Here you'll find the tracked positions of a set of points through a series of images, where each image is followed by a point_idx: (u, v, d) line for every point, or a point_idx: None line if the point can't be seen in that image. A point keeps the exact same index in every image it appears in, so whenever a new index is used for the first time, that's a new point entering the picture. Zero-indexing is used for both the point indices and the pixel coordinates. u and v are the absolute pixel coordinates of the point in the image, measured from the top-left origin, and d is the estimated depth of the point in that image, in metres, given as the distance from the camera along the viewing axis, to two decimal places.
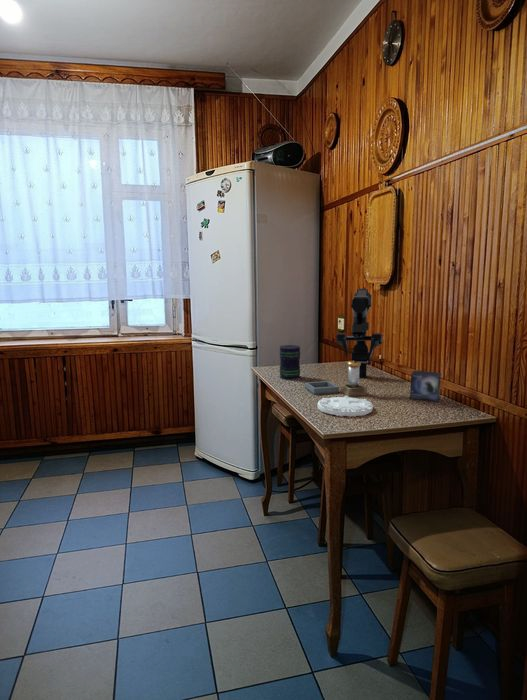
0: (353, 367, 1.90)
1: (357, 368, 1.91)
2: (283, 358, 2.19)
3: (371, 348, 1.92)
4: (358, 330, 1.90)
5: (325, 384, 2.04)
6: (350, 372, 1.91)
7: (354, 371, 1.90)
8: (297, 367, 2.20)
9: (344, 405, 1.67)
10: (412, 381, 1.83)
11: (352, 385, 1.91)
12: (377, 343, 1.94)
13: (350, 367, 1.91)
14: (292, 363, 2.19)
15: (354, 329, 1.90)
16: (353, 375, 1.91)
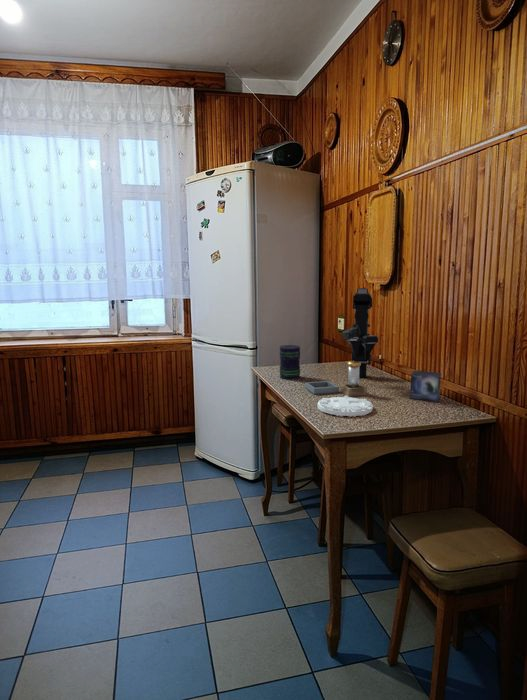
0: (353, 367, 1.90)
1: (357, 368, 1.91)
2: (283, 358, 2.19)
3: (365, 350, 2.00)
4: (346, 337, 2.01)
5: (325, 384, 2.04)
6: (350, 372, 1.91)
7: (354, 371, 1.90)
8: (297, 367, 2.20)
9: (344, 405, 1.67)
10: (412, 381, 1.83)
11: (352, 385, 1.91)
12: None
13: (350, 367, 1.91)
14: (292, 363, 2.19)
15: (343, 336, 2.03)
16: (353, 375, 1.91)
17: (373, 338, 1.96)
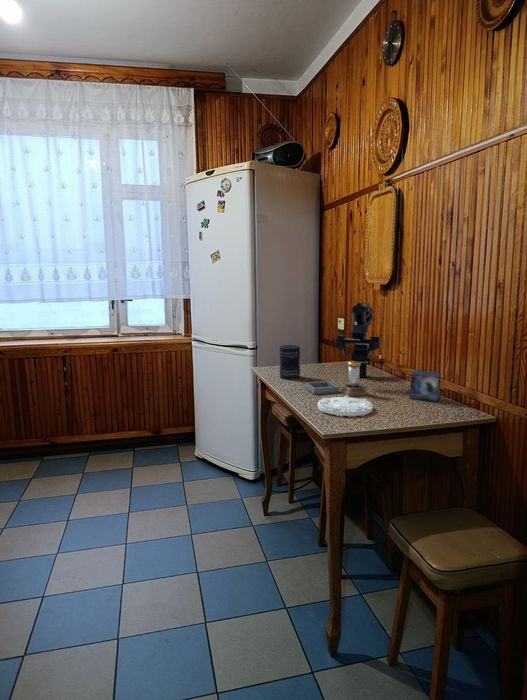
0: (353, 367, 1.90)
1: (357, 368, 1.91)
2: (283, 358, 2.19)
3: (369, 349, 2.00)
4: (357, 330, 1.99)
5: (325, 384, 2.04)
6: (350, 372, 1.91)
7: (354, 371, 1.90)
8: (297, 367, 2.20)
9: (344, 405, 1.67)
10: (412, 381, 1.83)
11: (352, 385, 1.91)
12: (375, 346, 2.01)
13: (350, 367, 1.91)
14: (292, 363, 2.19)
15: (354, 329, 1.99)
16: (353, 375, 1.91)
17: None
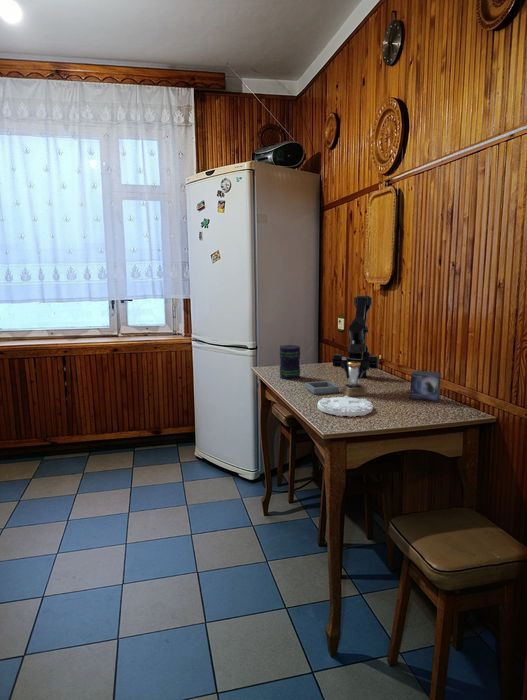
0: (353, 367, 1.90)
1: (357, 368, 1.90)
2: (283, 358, 2.19)
3: (361, 369, 1.92)
4: (355, 349, 1.90)
5: (325, 384, 2.04)
6: (350, 372, 1.91)
7: (354, 371, 1.90)
8: (297, 367, 2.20)
9: (344, 405, 1.67)
10: (412, 381, 1.83)
11: (353, 385, 1.91)
12: (367, 366, 1.94)
13: (350, 367, 1.91)
14: (292, 363, 2.19)
15: (351, 348, 1.91)
16: (353, 375, 1.91)
17: None
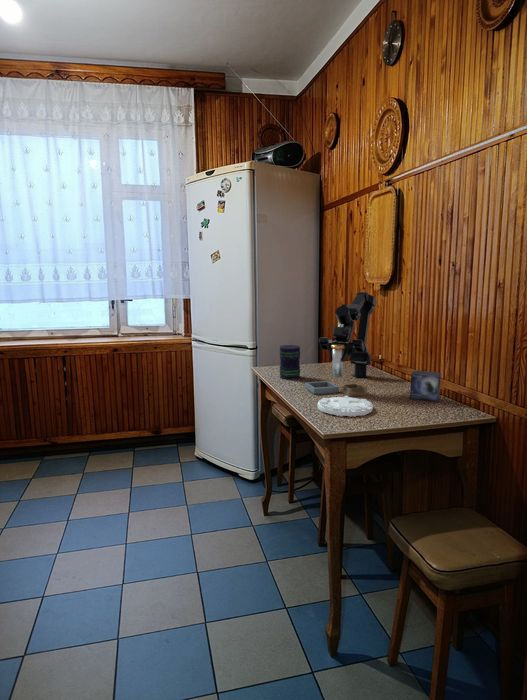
0: (336, 350, 1.91)
1: (340, 351, 1.91)
2: (283, 358, 2.19)
3: (345, 352, 1.92)
4: (338, 332, 1.91)
5: (325, 384, 2.04)
6: (333, 355, 1.92)
7: (337, 354, 1.91)
8: (297, 367, 2.20)
9: (344, 405, 1.67)
10: (412, 381, 1.83)
11: (335, 368, 1.92)
12: (352, 349, 1.93)
13: (333, 350, 1.92)
14: (292, 363, 2.19)
15: (334, 331, 1.92)
16: (336, 358, 1.91)
17: (363, 345, 1.93)
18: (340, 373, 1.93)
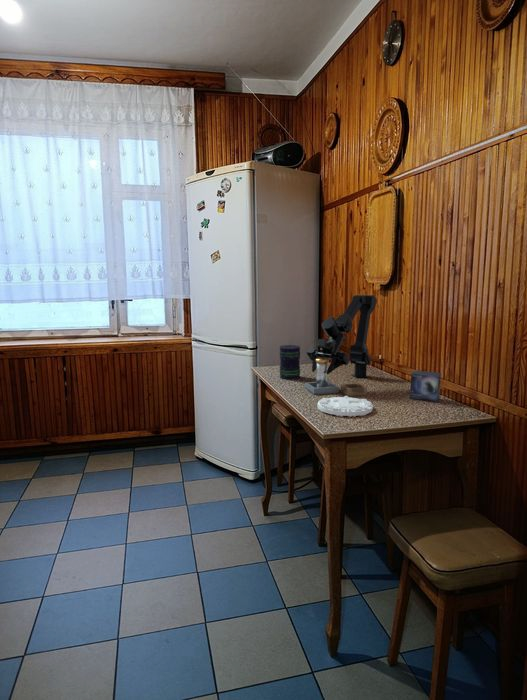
0: (319, 363, 1.95)
1: (323, 365, 1.95)
2: (283, 358, 2.19)
3: (330, 365, 1.95)
4: (321, 344, 1.95)
5: None
6: (317, 368, 1.97)
7: (320, 367, 1.95)
8: (297, 367, 2.20)
9: (344, 405, 1.67)
10: (412, 381, 1.83)
11: (318, 381, 1.97)
12: (339, 362, 1.95)
13: (317, 363, 1.96)
14: (292, 363, 2.19)
15: (319, 343, 1.96)
16: (319, 371, 1.96)
17: (347, 357, 1.95)
18: (323, 386, 1.97)
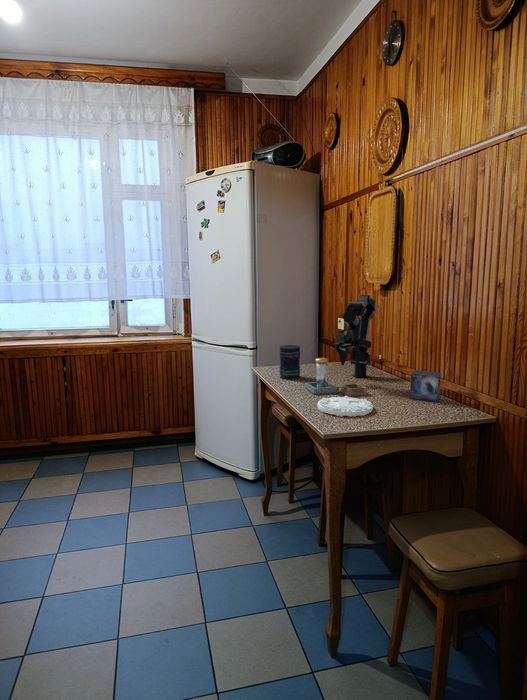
0: (318, 363, 1.95)
1: (323, 365, 1.95)
2: (283, 358, 2.19)
3: (357, 354, 1.99)
4: (339, 340, 2.01)
5: None
6: (316, 368, 1.97)
7: (319, 367, 1.95)
8: (297, 367, 2.20)
9: (344, 405, 1.67)
10: (412, 381, 1.83)
11: (318, 381, 1.97)
12: (363, 348, 1.98)
13: (316, 363, 1.97)
14: (292, 363, 2.19)
15: (336, 339, 2.03)
16: (319, 371, 1.96)
17: (367, 341, 1.98)
18: (323, 386, 1.97)
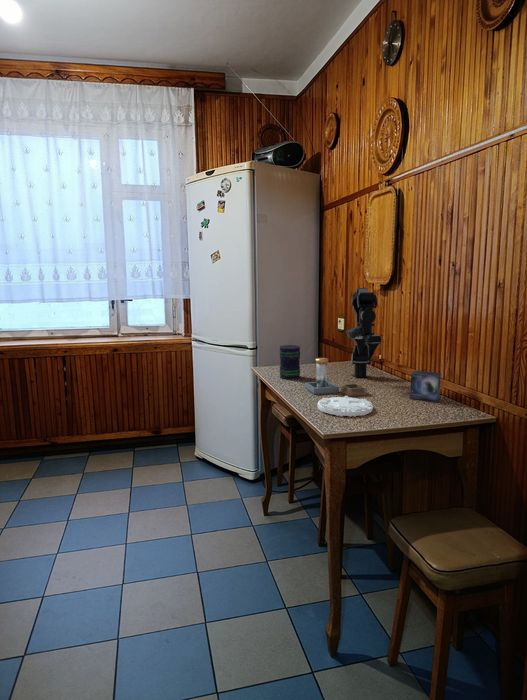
0: (318, 363, 1.95)
1: (322, 365, 1.95)
2: (283, 358, 2.19)
3: (368, 349, 2.00)
4: (349, 337, 2.02)
5: None
6: (316, 368, 1.97)
7: (319, 367, 1.95)
8: (297, 367, 2.20)
9: (344, 405, 1.67)
10: (412, 381, 1.83)
11: (318, 381, 1.97)
12: (373, 344, 1.98)
13: (316, 363, 1.97)
14: (292, 363, 2.19)
15: (347, 335, 2.04)
16: (318, 371, 1.96)
17: (376, 338, 1.96)
18: (323, 386, 1.97)
